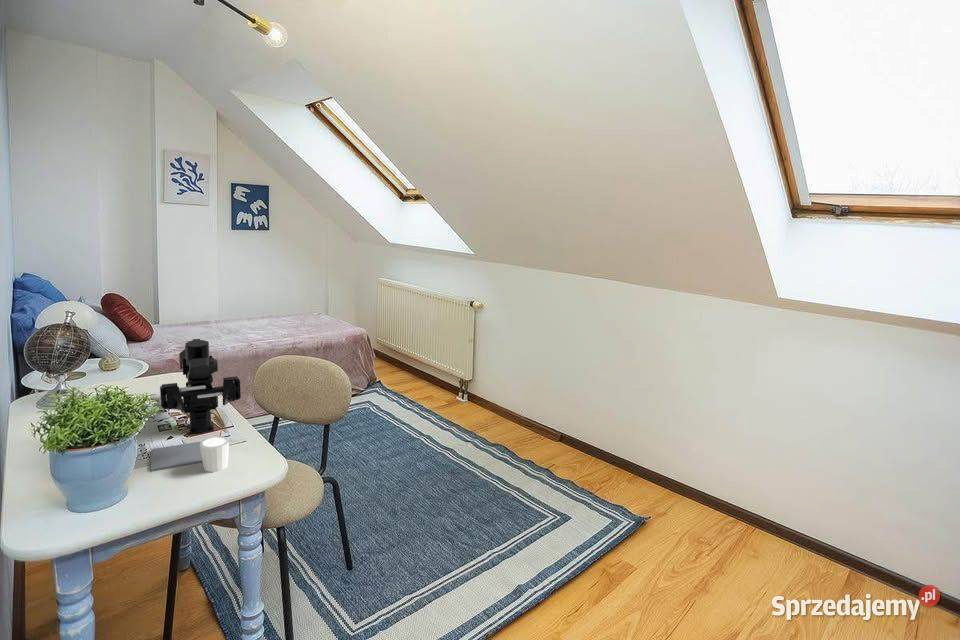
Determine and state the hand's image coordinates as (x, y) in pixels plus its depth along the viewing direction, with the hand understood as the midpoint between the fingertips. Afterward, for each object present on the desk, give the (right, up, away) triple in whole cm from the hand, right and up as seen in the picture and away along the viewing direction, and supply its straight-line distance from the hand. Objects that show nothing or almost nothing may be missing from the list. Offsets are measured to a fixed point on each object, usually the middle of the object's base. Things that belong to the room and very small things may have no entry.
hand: (204, 406), depth 136 cm
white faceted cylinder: (+1, -17, +4) cm, 17 cm away
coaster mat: (-11, -15, +8) cm, 20 cm away
